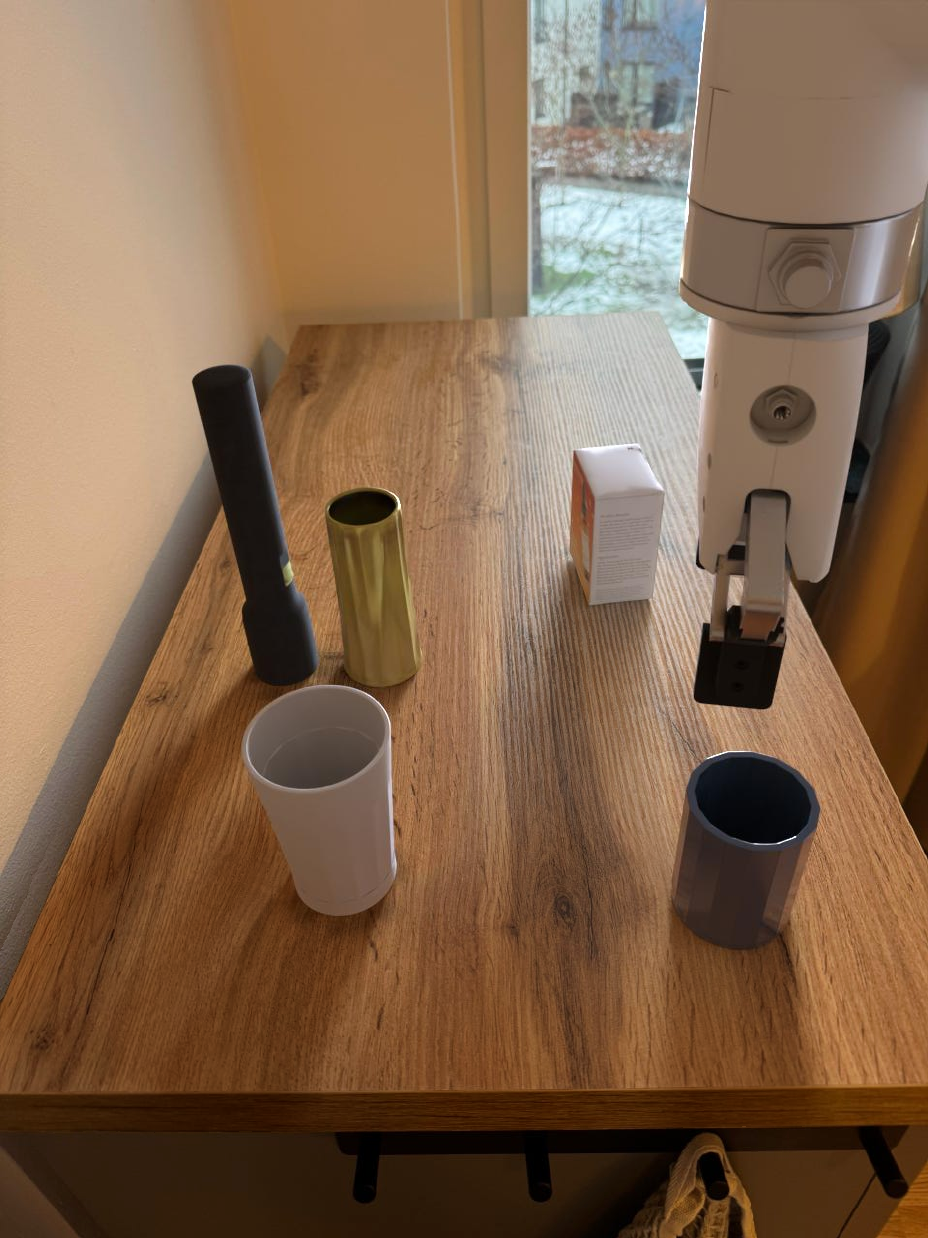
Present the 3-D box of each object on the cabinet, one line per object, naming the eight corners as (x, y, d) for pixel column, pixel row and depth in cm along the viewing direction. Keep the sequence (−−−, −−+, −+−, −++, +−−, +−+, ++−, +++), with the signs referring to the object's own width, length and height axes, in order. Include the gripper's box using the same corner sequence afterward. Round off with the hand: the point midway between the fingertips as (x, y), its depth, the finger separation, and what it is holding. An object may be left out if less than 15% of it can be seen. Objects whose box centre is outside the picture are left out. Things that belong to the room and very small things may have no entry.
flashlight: (243, 680, 71) (302, 691, 69) (164, 388, 56) (238, 395, 54) (272, 639, 74) (329, 649, 73) (205, 355, 59) (275, 361, 58)
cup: (256, 907, 55) (212, 772, 47) (317, 806, 61) (286, 672, 53) (377, 944, 53) (351, 809, 45) (429, 837, 58) (413, 701, 51)
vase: (404, 696, 68) (384, 537, 59) (330, 679, 70) (301, 522, 61) (434, 645, 73) (420, 489, 64) (364, 630, 75) (341, 477, 66)
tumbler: (797, 872, 55) (827, 771, 49) (778, 967, 50) (809, 868, 45) (686, 837, 57) (703, 737, 52) (658, 925, 53) (673, 826, 47)
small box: (568, 552, 82) (571, 447, 75) (630, 546, 82) (638, 440, 75) (587, 607, 76) (592, 498, 69) (654, 600, 76) (665, 490, 69)
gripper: (961, 355, 25) (833, 780, 35) (873, 183, 38) (799, 532, 48) (675, 346, 26) (636, 757, 37) (686, 184, 39) (654, 522, 50)
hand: (729, 629), depth 43 cm, fingers open, 9 cm apart
